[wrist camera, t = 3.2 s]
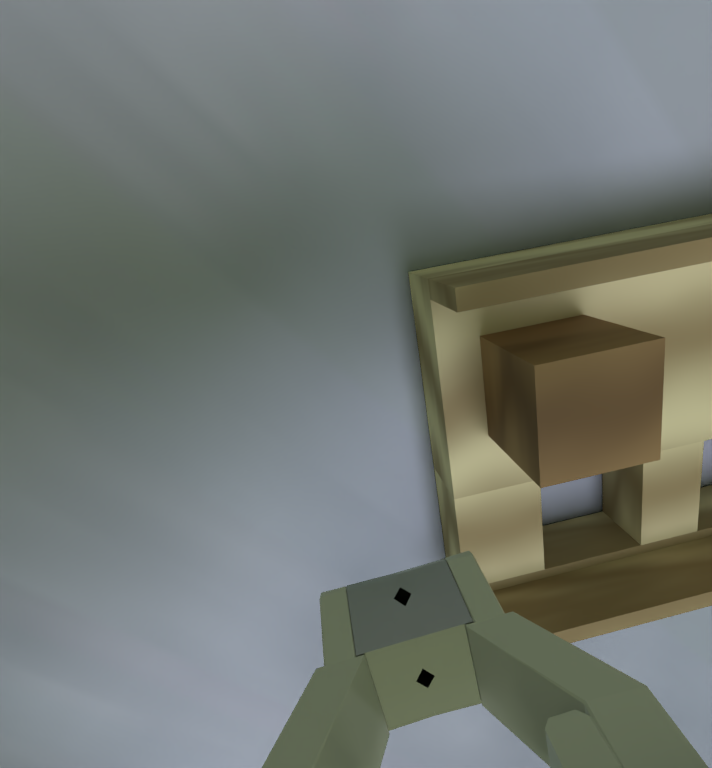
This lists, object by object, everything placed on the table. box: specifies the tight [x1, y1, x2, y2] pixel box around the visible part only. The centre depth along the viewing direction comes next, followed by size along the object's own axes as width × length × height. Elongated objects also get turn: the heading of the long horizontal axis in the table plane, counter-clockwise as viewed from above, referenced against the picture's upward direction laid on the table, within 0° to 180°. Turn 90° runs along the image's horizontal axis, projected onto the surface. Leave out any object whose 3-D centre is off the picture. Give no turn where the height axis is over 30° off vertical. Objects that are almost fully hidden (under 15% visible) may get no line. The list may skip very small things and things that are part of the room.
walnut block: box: [480, 315, 665, 488], centre depth 18 cm, size 4×4×4 cm
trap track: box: [408, 214, 712, 643], centre depth 21 cm, size 16×23×7 cm
